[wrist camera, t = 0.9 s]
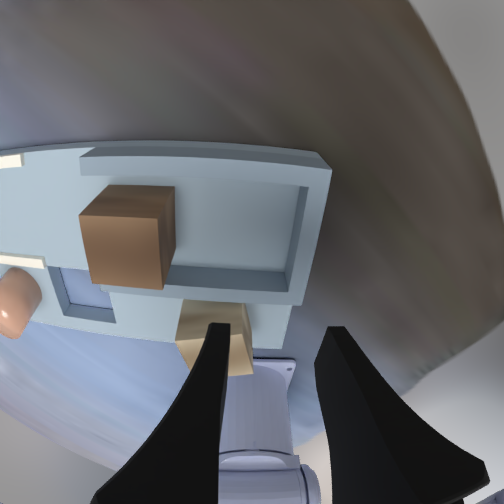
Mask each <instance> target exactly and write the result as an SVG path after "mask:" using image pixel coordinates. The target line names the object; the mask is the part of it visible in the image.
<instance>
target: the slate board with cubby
mask: <svg viewBox="0 0 504 504" xmlns="http://www.w3.org/2000/svg"><path fill="white" fill-rule="evenodd" d="M331 175H332V169H331V168H330V167H329V166H328V164H327V163H326V162H325V161H324V160H323V159H322V158H321V156H320V155H319V154H318V153H317V152H313V151H305V150H297V149H289V148H280V147H270V146H260V145H248V144H235V143H220V142H200V141H167V140H130V141H97V142H79V143H65V144H53V145H42V146H33V147H24V148H16V149H9V150H1V151H0V276H1V278H2V276H3V275H4V274H5V273H6V271H7V270H8V269H9V268H12V267H17V268H21V269H23V270H25V271H26V272H27V273H29V274H30V275H31V276H32V277H33V278H34V279H35V281H36V282H37V283H38V285H39V287H40V289H41V292H42V301H41V303H40V304H39V306H38V307H37V309H36V311H35V312H34V314H33V315H32V317H31V319H30V321H35V322H39V323H44V324H49V325H54V326H59V327H65V328H70V329H76V330H81V331H87V332H93V333H100V334H106V335H113V336H120V337H127V338H135V339H143V340H152V341H161V342H171V343H175V336H176V331H177V326H178V321H179V317H180V312H181V307H182V302H183V299H189V300H203V301H217V302H233V303H245V305H246V309H247V313H248V317H249V321H250V325H251V329H252V347H253V348H263V349H282V345H283V341H284V337H285V333H286V329H287V325H288V321H289V317H290V312H291V308H292V305H296V306H302V302H303V298H304V294H305V290H306V286H307V282H308V278H309V274H310V270H311V266H312V262H313V258H314V253H315V249H316V245H317V240H318V236H319V232H320V227H321V223H322V218H323V213H324V209H325V204H326V199H327V194H328V190H329V185H330V180H331ZM108 185H152V186H175V231H176V250H175V253H174V256H173V259H172V262H171V266H170V269H169V272H168V275H167V278H166V282H165V285H164V288H163V290H154V289H143V288H132V287H122V286H112V285H103V284H99V285H100V289H101V291H105V292H109V295H110V299H111V303H112V308H113V310H112V309H104V308H96V307H89V306H82V305H75V304H70V302H69V299H68V296H67V293H66V289H65V286H64V283H63V280H62V276H61V273H60V269H59V267H63V268H72V269H82V270H89V267H88V263H87V259H86V254H85V249H84V244H83V239H82V234H81V228H80V223H79V217H78V215H79V214H80V213H81V212H82V211H83V210H84V209H85V208H86V207H87V206H88V205H89V204H90V203H91V202H92V200H93V199H94V198H95V197H96V196H97V195H98V194H99V193H100V192H101V191H102V190H103V189H105V188H106V187H107V186H108Z"/></svg>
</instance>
